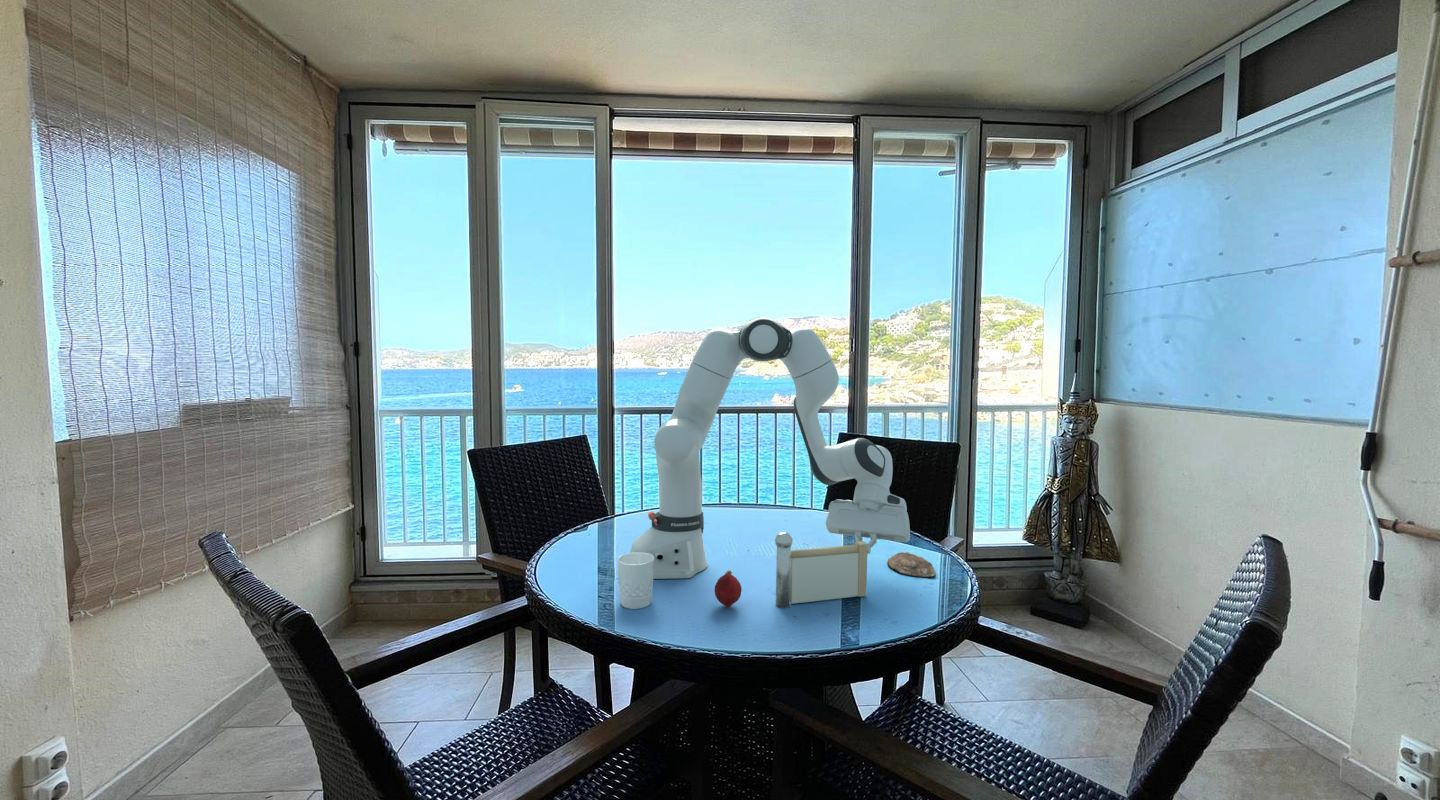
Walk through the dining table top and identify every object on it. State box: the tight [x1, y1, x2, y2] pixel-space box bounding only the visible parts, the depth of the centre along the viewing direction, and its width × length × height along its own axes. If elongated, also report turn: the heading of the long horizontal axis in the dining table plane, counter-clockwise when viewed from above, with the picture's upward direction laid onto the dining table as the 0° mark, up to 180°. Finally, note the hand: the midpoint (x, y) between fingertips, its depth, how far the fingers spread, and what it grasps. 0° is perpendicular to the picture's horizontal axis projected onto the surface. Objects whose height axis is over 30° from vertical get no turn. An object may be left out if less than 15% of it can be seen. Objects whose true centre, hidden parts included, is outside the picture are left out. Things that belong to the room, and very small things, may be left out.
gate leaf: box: [790, 540, 868, 604], centre depth 122 cm, size 18×2×12 cm, turn 106°
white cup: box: [617, 552, 654, 610], centre depth 120 cm, size 8×8×10 cm
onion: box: [713, 570, 742, 608], centre depth 118 cm, size 6×6×8 cm
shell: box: [886, 551, 936, 579], centre depth 143 cm, size 12×13×4 cm
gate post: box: [774, 531, 793, 609], centre depth 119 cm, size 4×4×16 cm
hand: (863, 551), depth 132 cm, fingers closed
